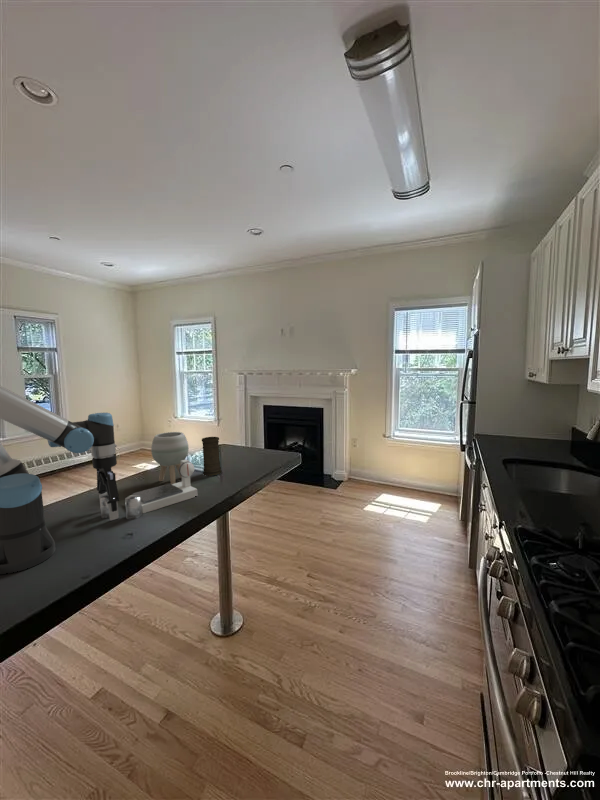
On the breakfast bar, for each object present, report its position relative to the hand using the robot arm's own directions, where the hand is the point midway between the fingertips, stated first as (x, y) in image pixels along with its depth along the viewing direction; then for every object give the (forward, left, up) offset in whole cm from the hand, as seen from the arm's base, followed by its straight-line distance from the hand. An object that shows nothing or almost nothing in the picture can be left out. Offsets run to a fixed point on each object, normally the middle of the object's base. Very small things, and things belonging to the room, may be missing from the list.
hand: (109, 514), depth 124 cm
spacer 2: (+6, -8, 0) cm, 10 cm away
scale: (+20, -1, 0) cm, 20 cm away
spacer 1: (0, 0, 0) cm, 0 cm away
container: (+50, +14, 0) cm, 52 cm away
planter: (+32, +18, 0) cm, 37 cm away
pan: (+18, -1, +3) cm, 18 cm away
